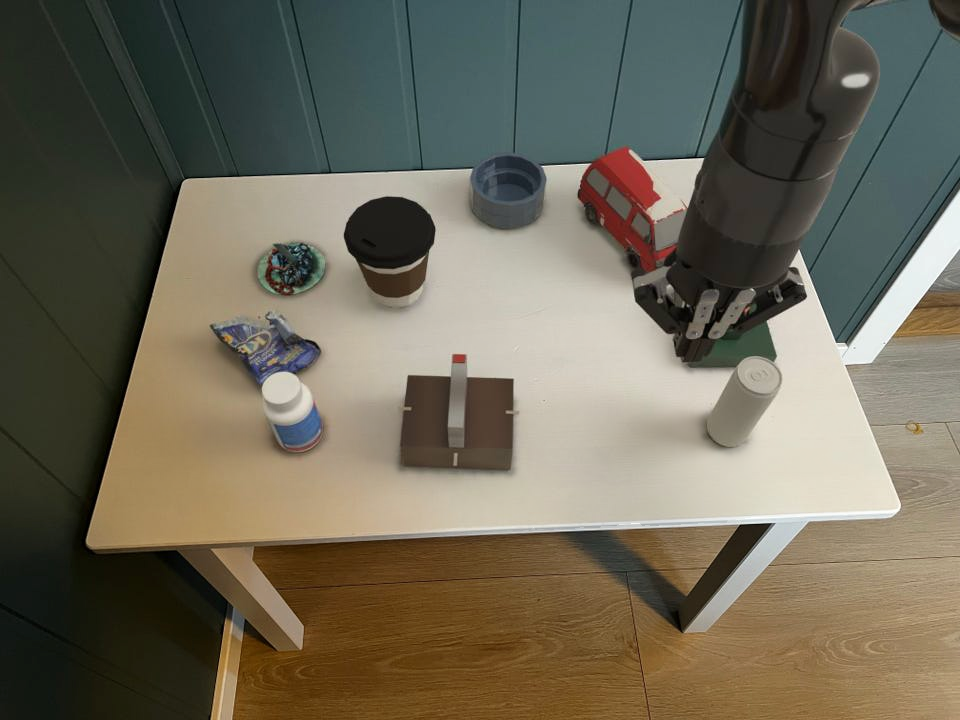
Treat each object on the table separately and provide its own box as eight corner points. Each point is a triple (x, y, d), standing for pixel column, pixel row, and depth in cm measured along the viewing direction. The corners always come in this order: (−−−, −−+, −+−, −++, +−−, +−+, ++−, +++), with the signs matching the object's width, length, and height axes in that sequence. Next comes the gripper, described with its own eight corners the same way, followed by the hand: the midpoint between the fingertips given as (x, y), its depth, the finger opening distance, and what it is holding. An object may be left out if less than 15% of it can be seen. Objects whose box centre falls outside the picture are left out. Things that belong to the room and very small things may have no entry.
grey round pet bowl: (557, 211, 104) (561, 185, 100) (497, 241, 101) (498, 215, 97) (515, 170, 109) (517, 143, 105) (456, 197, 105) (456, 170, 101)
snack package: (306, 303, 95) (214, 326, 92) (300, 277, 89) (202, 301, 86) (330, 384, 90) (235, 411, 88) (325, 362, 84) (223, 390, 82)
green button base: (771, 366, 89) (782, 348, 86) (689, 367, 89) (698, 348, 86) (749, 290, 96) (759, 270, 93) (673, 291, 96) (681, 271, 93)
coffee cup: (402, 337, 92) (393, 275, 82) (338, 296, 95) (322, 231, 85) (456, 284, 96) (454, 218, 86) (393, 246, 100) (384, 179, 90)
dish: (329, 270, 94) (276, 239, 91) (301, 313, 96) (248, 284, 94) (331, 249, 101) (282, 220, 98) (305, 290, 103) (256, 262, 101)
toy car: (642, 295, 96) (658, 242, 87) (572, 204, 105) (581, 149, 96) (699, 272, 98) (720, 218, 89) (626, 185, 107) (638, 129, 99)
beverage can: (698, 418, 85) (727, 361, 75) (734, 408, 86) (768, 350, 76) (717, 454, 83) (750, 399, 73) (755, 442, 84) (793, 387, 74)
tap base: (517, 385, 88) (519, 362, 83) (516, 487, 80) (518, 467, 76) (407, 382, 88) (404, 358, 84) (396, 483, 81) (392, 463, 76)
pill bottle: (333, 428, 84) (318, 383, 76) (300, 462, 82) (281, 419, 74) (300, 403, 86) (281, 357, 78) (266, 436, 84) (244, 391, 76)
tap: (463, 447, 77) (463, 426, 73) (448, 447, 77) (447, 426, 73) (467, 376, 82) (467, 352, 78) (453, 376, 82) (452, 352, 78)
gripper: (659, 243, 44) (613, 393, 58) (879, 241, 44) (779, 392, 58) (641, 158, 48) (603, 318, 62) (842, 156, 48) (757, 316, 62)
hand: (688, 353), depth 60 cm, fingers closed
